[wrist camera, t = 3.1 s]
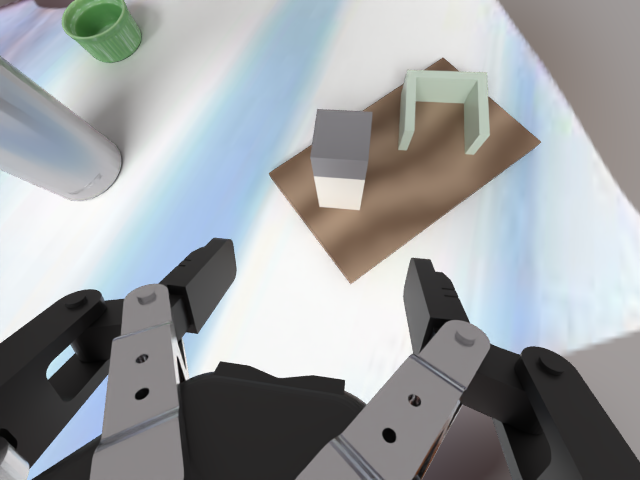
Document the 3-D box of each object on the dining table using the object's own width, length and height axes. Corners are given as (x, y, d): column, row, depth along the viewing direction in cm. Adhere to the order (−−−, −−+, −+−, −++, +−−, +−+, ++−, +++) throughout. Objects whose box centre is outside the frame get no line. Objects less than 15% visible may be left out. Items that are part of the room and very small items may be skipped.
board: (271, 178, 34) (268, 173, 33) (439, 65, 37) (443, 57, 36) (350, 284, 30) (351, 282, 29) (534, 148, 33) (541, 142, 31)
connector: (359, 210, 31) (368, 161, 21) (319, 206, 31) (310, 157, 22) (362, 173, 32) (372, 111, 22) (324, 171, 32) (317, 109, 23)
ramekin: (77, 56, 42) (47, 27, 38) (112, 15, 44) (88, -17, 40) (122, 74, 41) (97, 45, 36) (157, 30, 43) (136, -2, 38)
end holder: (474, 154, 32) (489, 135, 28) (398, 149, 32) (404, 130, 29) (472, 97, 34) (486, 72, 30) (401, 93, 35) (407, 69, 31)
